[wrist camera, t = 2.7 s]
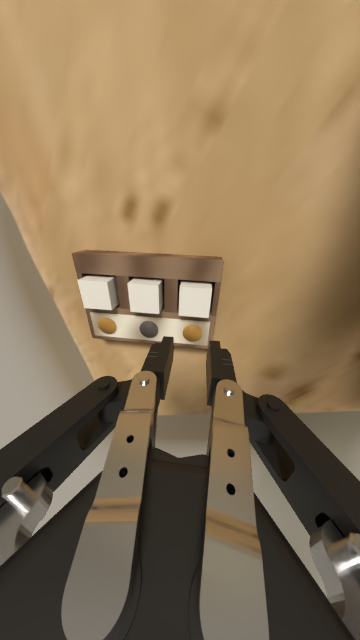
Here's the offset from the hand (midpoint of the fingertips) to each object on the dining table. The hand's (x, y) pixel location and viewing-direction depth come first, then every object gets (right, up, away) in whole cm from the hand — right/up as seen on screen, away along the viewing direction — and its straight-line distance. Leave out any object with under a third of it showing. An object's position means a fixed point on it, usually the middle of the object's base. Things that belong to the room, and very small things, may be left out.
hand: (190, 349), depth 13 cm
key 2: (+1, +5, +10) cm, 11 cm away
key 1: (-11, +6, +11) cm, 16 cm away
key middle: (-5, +6, +10) cm, 13 cm away
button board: (-5, +5, +13) cm, 14 cm away
